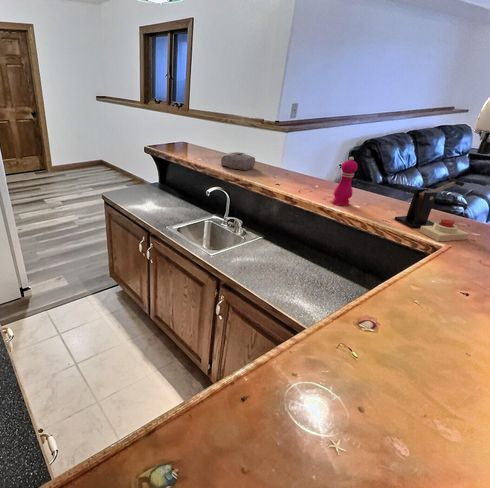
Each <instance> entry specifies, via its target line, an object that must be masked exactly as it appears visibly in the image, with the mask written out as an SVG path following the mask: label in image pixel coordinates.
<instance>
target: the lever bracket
mask: <svg viewBox="0 0 490 488" xmlns="http://www.w3.org/2000/svg"><path fill="white" fill-rule="evenodd" d="M425 190H427V191H429V188H415V190H414V192H413V195H412V198H411V201H410V205H409V207H408V210H407V213H406V215H402V216H401V215H399V216H394V219H393V220H395V221H396V222H399V223H400V224H402V225H404V226H406V227H408V228H410V229H412V230H416V229H420V228H421V226H431V225H434V223H435V222H433V221H432V220H429V217H430V215H431V212H432V209H433V207H434V204H435V200H436V198H437V195H438V192H425V193H424V195H423V198H422V200H421V199H419V193H420V192H423V191H425Z"/></svg>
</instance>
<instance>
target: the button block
mask: <svg viewBox="0 0 490 488" xmlns="http://www.w3.org/2000/svg"><path fill="white" fill-rule="evenodd" d="M440 222H441V220H440V221H439V220H437V221H434V222H433V223H434V225H431V226H421V228H419V231H418V232H419V233H421V234H423V235H424V236H427V237H429V238H431V239H432V240H435V241H436V242H449V241H462V240H463V241H464V240H465V241H466V240H467V239H468V236H469V233H468V232H466V231H463V230H461V229H459V226H458V225H456V224H454V225H453V227H451V228H450V227H444V226H441V225H440Z"/></svg>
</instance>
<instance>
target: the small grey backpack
mask: <svg viewBox="0 0 490 488" xmlns="http://www.w3.org/2000/svg"><path fill="white" fill-rule="evenodd" d="M219 159H220V165H221V166H224V167H226V168H229V169H233V170H242V171H250V170H252V169H253V168H254V166H255V165H256V157H254V156H252V155H250V154H246V153H245V152H238V151H235V152H226V153H224V154H223V155H221V157H220V158H219Z"/></svg>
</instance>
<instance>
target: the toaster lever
mask: <svg viewBox="0 0 490 488" xmlns="http://www.w3.org/2000/svg"><path fill="white" fill-rule="evenodd" d="M453 186H459V187H463V186H465V182H464V181H461V180H457V179H455V178H449V179H448V183H446V184H444V185H442V186H439V187H437V188H434V189H432V190H428V191H427V190H425V191H423V192H420V193H419V199H421V200H422V198H423V195H424V193H425V192H437V193H440V192H442V191H444V190H447V189H449V188H451V187H453Z"/></svg>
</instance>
